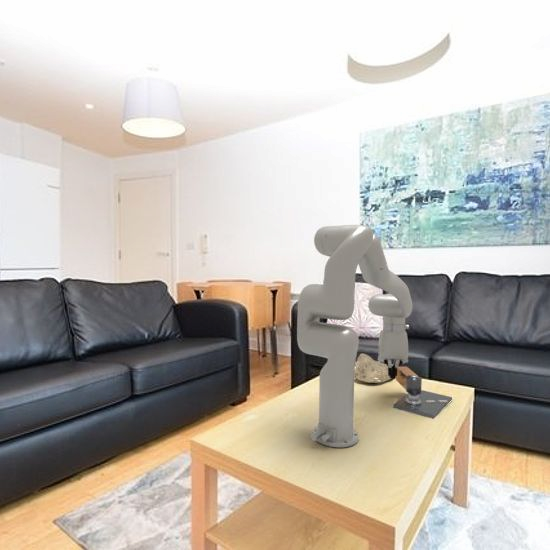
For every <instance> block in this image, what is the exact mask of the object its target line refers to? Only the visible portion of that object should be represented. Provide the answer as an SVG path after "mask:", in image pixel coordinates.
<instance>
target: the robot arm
mask: <svg viewBox="0 0 550 550" xmlns="http://www.w3.org/2000/svg"><path fill="white" fill-rule="evenodd" d="M313 241H314V242H313V243H314V247H315V249H316V250H317V252H318V253H319V254H320V255H322V256H326V257H329V258H328V260H327V261H326V263H325V267H324V270H323V271H324V272H323V284H320V283H312V284H311V283H310V284H307V285H306V286H304V287H303V288H302V290H301V291H300V294H299V297H298V301H297V320H296V321H297V323H296V326H297V327H296V332H297V333H296V341H297V345H298V348H299V350H300V351H301V352H302V353H304V354H306V355H312V356H318V357H321V358H325V359H327V362H326V363H325V364H324V365H323V367H322V368H321V370H320V372H319V380H318V381H319V387H318V388H319V390H318V391H319V394H318V395H319V397H318V399H319V400H318V423H317V426H315V427H314V428H313V430H312V433H311V434H310V436H309V437H310V439H311V441H313V442H315V441H316V442H318V443H319V444H321V445H323V446H326V447H331V448H337V449H338V448H339V449H340V448H349V447H351V446H354V445H356V444H357V443H358V442H359V439H360V438H359V437H360V436H359V433H358V432H357V430H356V429H355V428H354V406H355V405H354V402H355V401H354V400H355V399H354V398H355V373H354V371H355V368H356V366H355V361H357V355H358V350H359V345H360V344H359V343H360V342H359V341H360V338H359V335H358V333H357V332H356V330H355V329H353V328H352V327H350V326H346V325H343V324H337V323H336V324H335V323H327V322H321V321H320V319H326V320H334V321H344V320H345V321H346V320H349V319H350V318H352V316H353V314H354V308H355V301H356V300H355V298H356V297H355V292H356V276H357V275H356V274H357V268H358V267H359V270H360V273H361V275H362V279H363V280H364V281H365V282H366V283H367V284H369V285H371V286H373V287H375V288H377V289H379V290H382V291H385V292H387V293H386V294H385V293H384V294H382V293H379V294H378V293H377V294H374V295H372V296H371V297H370V299H369V301H368V304H367V305H368V311H369V312H370V313H371V314H372V315H374V316H380V317H383V318H382V320H383V321H382V329H381V330H380V332H379V336H378V337H379V338H378V346H377V347H378V348H377V354H378V355H377V361H379V362H381V363H383V364H386V365H387V366H388V370H387V371H388V376H389V377H390V378H391V379H390V380H396V376H397V368H398V367H401V365H402V364H405V363H409V341H408V339H409V338H408V333H407V331H406V330H407V329H410V325H409V324H406V318H408V317H409V316H410V315H411V314H412V312H413V301H412V297H411V293H410V290H409V287H408V285H407V284H406V283H405V282H404V281H403V280H402V279H401V278H400V276H398V275H397V274H396V273H394V272H393V271H391V270H390V269H389V266H388V263H387V260H386V259H387V258H386V256H385V253H384V250H383V249H384V248H383V246H382V242H381V240H380V237H379V236H378V235H377V234H375V233H374V231H373V229H372V228H371V227H369V226H368V225H364V224H343V225H325V226H322V227H320V228H319V229H317V230H316V232H315V235H314V239H313ZM392 360H393V366H392Z"/></svg>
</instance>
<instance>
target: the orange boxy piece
mask: <svg viewBox="0 0 550 550" xmlns="http://www.w3.org/2000/svg"><path fill="white" fill-rule="evenodd" d="M422 380H423V377H422V376H419V375H417V374H416V373H415V372H414V371H413V370H411V369H410V368H409V367H408V366H399V367H398V368H397V376H396V379H395V381H396V382H397V383H399V385H400V386H401V387H402V388H403V389H404V390H405V391H406V393H407V394H408V393H410V394H415V395H418V394H421V390H422V383H423V381H422Z"/></svg>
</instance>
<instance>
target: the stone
mask: <svg viewBox="0 0 550 550" xmlns="http://www.w3.org/2000/svg"><path fill="white" fill-rule="evenodd" d="M393 364H394V363H393ZM393 364H392V366H393ZM354 377H355V378H356V379H357V380H358V381H362V382H365V383H371V384H372V383H373V384H374V383H375V384H380V383H384V382H386V381H389V380H392V379H391V378H390V377H389V376H388V366H387V365H386V364H385V363H384V362H380V361H378V360H374V359H373V358H372V357H371V356H369V355H368V354H366V353H360V354H359V355H358V357H356V361H355V371H354Z"/></svg>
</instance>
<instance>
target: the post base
mask: <svg viewBox="0 0 550 550" xmlns="http://www.w3.org/2000/svg"><path fill="white" fill-rule="evenodd" d="M451 400H452V401H453V397H452V396H448V395H444V394H439V393H435V392H431V391H427V390H423V389H421V394H418V395H415V394H410V393H407V394H405V395H404V396H403V397H401V398H400V399H399V400H397V401H396V402H394V403H393V405H392V408H393V409H397V410H400V411H401V410H402V411H405V412H407V413H411V414H415V415H419V416H422V417H426V418H430V419H435V417H436V416H437V415H438V414H439V413H441V412H442V411H443V410H444V409H445V408H446V407H447V406H448V405H449V404H450V403H451V402H452V401H451ZM450 401H451V402H450ZM449 402H450V403H449ZM448 403H449V404H448ZM447 404H448V405H447ZM446 405H447V406H446ZM445 406H446V407H445ZM444 407H445V408H444ZM443 408H444V409H443ZM442 409H443V410H442ZM441 410H442V411H441Z"/></svg>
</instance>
